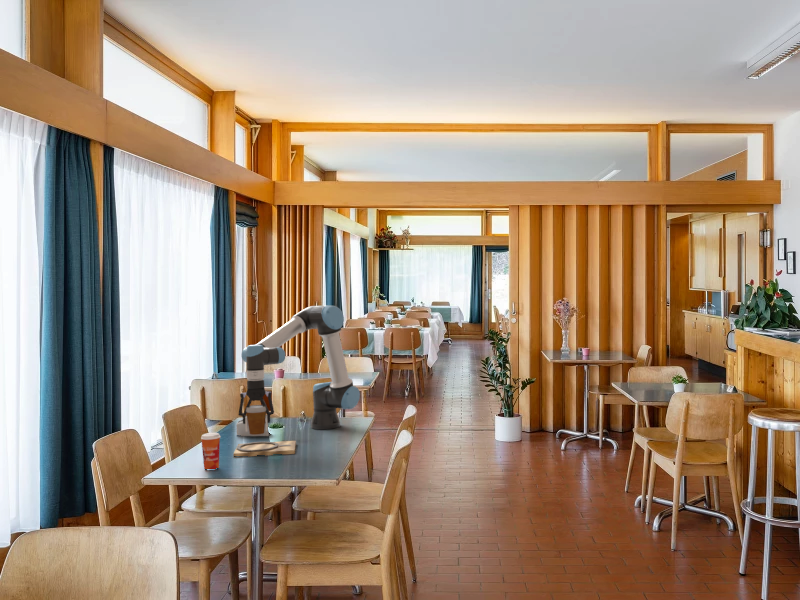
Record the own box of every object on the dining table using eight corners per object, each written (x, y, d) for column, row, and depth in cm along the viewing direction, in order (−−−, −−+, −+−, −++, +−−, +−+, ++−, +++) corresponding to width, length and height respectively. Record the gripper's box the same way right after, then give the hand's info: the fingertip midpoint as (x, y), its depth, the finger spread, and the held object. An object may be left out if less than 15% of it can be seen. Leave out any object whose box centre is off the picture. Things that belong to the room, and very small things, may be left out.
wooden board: (295, 444, 322) (295, 439, 322) (294, 453, 302) (294, 448, 302) (238, 447, 318) (238, 442, 318) (233, 457, 298) (233, 452, 298)
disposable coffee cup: (244, 432, 312) (243, 405, 312) (266, 430, 315) (265, 404, 315) (247, 436, 303) (246, 408, 303) (269, 434, 306) (268, 407, 306)
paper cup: (198, 471, 275) (197, 436, 275) (205, 466, 283) (204, 432, 283) (218, 471, 275) (217, 436, 275) (224, 466, 282) (223, 432, 282)
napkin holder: (272, 433, 348) (269, 416, 344) (269, 438, 343) (266, 421, 340) (240, 433, 350) (236, 416, 347) (236, 438, 346) (233, 421, 342)
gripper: (230, 381, 304) (231, 433, 304) (279, 379, 307) (280, 431, 307) (232, 379, 312) (233, 430, 312) (279, 377, 314) (281, 428, 314)
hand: (256, 430), depth 309 cm, fingers closed on disposable coffee cup, 8 cm apart
